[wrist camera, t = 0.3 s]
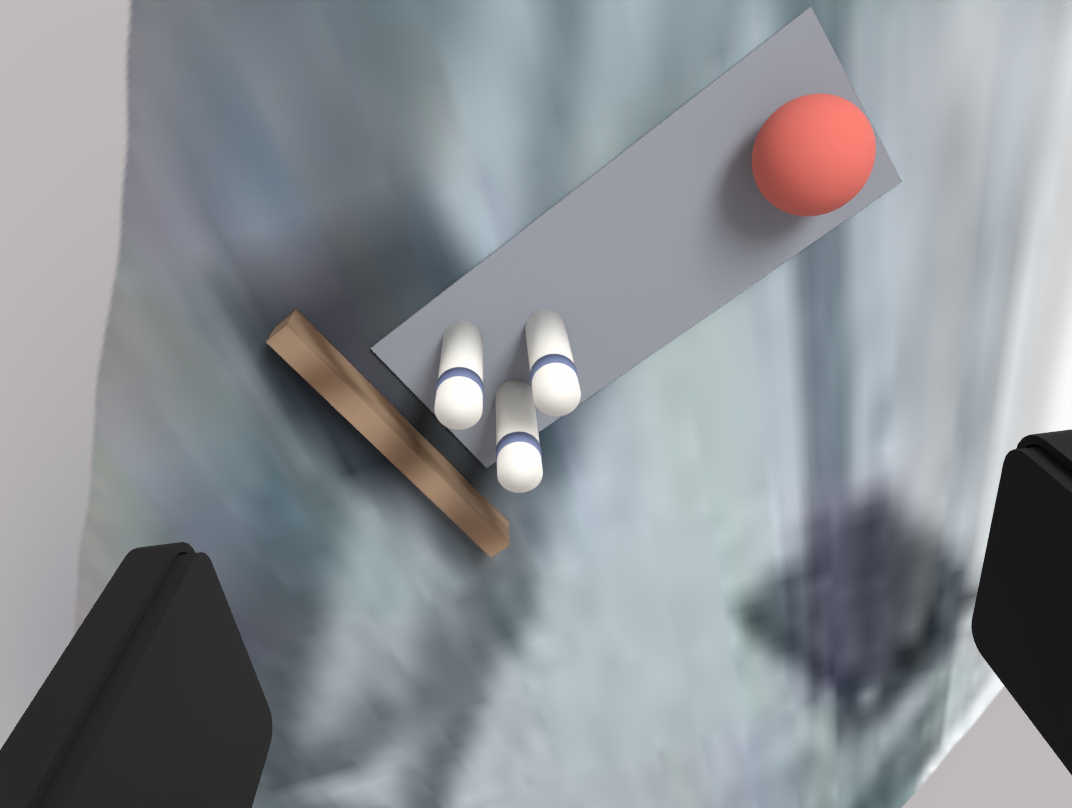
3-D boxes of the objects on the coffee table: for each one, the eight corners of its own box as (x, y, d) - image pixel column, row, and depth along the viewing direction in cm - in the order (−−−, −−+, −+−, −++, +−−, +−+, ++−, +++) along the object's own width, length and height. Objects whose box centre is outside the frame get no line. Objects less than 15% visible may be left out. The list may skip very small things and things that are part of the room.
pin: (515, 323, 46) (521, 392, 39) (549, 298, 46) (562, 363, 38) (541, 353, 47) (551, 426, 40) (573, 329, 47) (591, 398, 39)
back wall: (276, 325, 46) (265, 342, 43) (296, 309, 45) (286, 325, 43) (490, 534, 54) (490, 557, 52) (508, 522, 53) (509, 545, 51)
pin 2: (486, 392, 49) (486, 471, 41) (517, 369, 48) (524, 445, 40) (511, 419, 50) (515, 501, 42) (542, 397, 49) (553, 476, 41)
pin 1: (433, 335, 47) (422, 406, 39) (465, 310, 46) (461, 377, 38) (460, 364, 48) (455, 439, 40) (492, 341, 47) (493, 412, 39)
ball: (717, 136, 42) (750, 157, 37) (814, 62, 40) (864, 73, 35) (771, 222, 44) (809, 253, 39) (864, 155, 43) (918, 178, 38)
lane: (371, 347, 47) (370, 348, 46) (809, 6, 39) (810, 6, 39) (486, 466, 51) (486, 468, 51) (900, 180, 44) (901, 181, 44)
